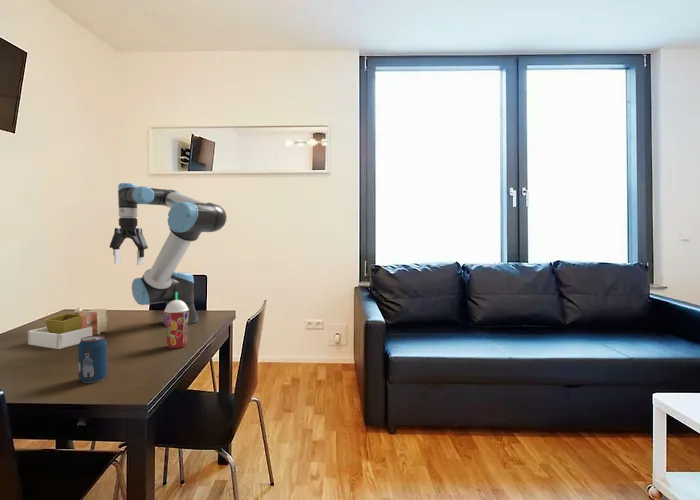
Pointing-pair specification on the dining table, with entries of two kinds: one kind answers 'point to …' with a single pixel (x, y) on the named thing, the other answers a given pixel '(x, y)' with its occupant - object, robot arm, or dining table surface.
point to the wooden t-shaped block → (93, 319)
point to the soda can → (92, 359)
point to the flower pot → (64, 323)
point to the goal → (57, 337)
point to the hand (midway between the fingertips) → (128, 264)
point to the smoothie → (176, 323)
